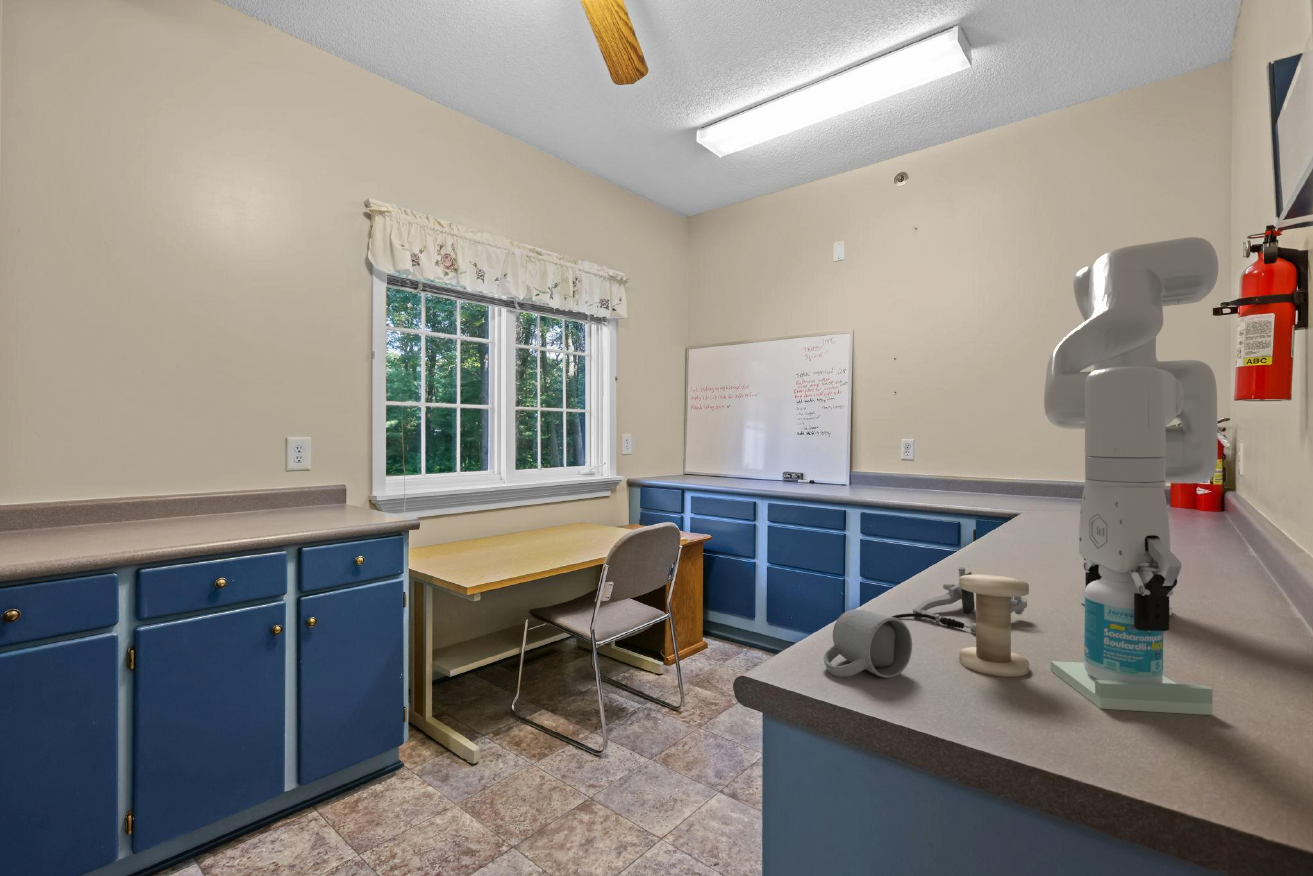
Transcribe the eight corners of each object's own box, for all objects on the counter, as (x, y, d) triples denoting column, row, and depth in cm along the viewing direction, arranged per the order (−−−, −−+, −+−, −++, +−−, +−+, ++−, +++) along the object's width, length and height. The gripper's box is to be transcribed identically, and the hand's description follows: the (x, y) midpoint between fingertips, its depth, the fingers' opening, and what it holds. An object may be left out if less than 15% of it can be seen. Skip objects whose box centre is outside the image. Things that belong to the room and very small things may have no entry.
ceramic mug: (868, 653, 84) (867, 600, 84) (914, 673, 77) (913, 615, 77) (809, 666, 80) (808, 610, 80) (852, 688, 73) (851, 627, 73)
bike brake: (957, 597, 110) (886, 633, 99) (954, 561, 109) (883, 593, 99) (1036, 617, 98) (966, 660, 88) (1034, 577, 98) (963, 616, 87)
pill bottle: (1103, 689, 69) (1103, 571, 69) (1072, 665, 76) (1072, 558, 76) (1179, 695, 67) (1179, 573, 67) (1140, 669, 74) (1140, 560, 74)
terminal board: (1050, 670, 77) (1050, 648, 77) (1145, 675, 76) (1145, 652, 76) (1100, 708, 67) (1100, 683, 67) (1212, 715, 65) (1212, 689, 65)
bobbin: (950, 652, 84) (950, 573, 84) (1012, 655, 83) (1012, 575, 83) (972, 675, 76) (971, 587, 76) (1040, 678, 75) (1040, 590, 75)
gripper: (1052, 467, 80) (1053, 595, 81) (1135, 478, 63) (1135, 640, 64) (1114, 467, 79) (1115, 596, 80) (1215, 478, 62) (1215, 643, 62)
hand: (1124, 616), depth 72 cm, fingers open, 9 cm apart
